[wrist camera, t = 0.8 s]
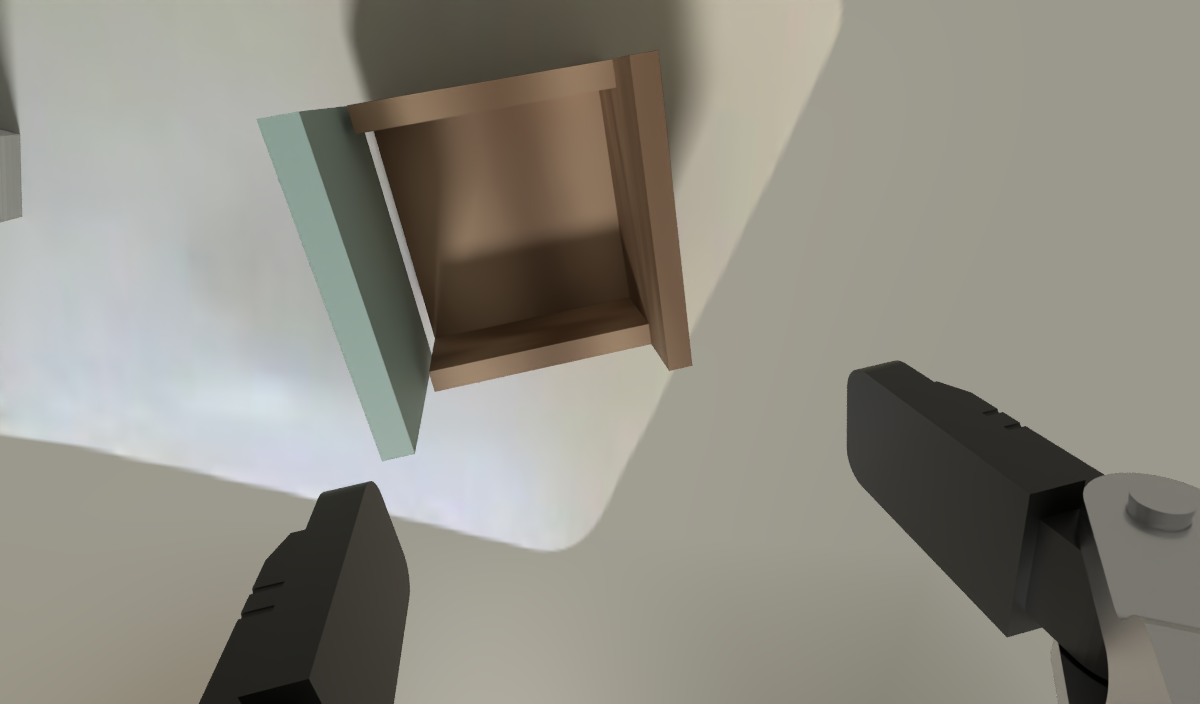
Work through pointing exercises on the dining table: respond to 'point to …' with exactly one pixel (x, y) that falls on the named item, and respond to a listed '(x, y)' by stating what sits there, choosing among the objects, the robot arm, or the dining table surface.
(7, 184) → the grey wedge block
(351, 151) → the panel
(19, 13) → the dining table surface
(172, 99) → the dining table surface
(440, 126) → the brown wooden open box
